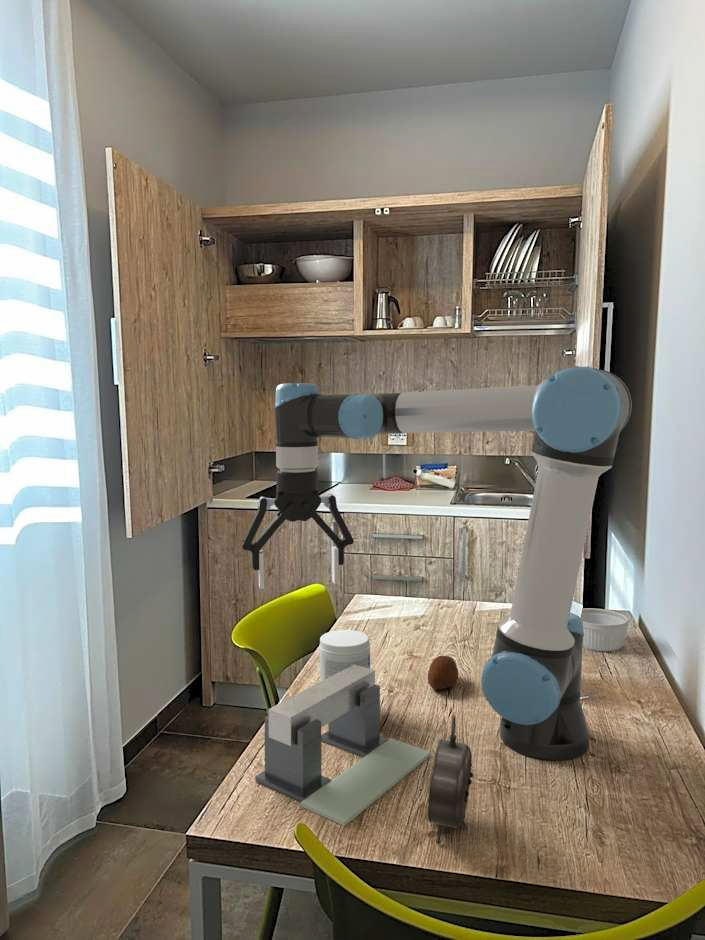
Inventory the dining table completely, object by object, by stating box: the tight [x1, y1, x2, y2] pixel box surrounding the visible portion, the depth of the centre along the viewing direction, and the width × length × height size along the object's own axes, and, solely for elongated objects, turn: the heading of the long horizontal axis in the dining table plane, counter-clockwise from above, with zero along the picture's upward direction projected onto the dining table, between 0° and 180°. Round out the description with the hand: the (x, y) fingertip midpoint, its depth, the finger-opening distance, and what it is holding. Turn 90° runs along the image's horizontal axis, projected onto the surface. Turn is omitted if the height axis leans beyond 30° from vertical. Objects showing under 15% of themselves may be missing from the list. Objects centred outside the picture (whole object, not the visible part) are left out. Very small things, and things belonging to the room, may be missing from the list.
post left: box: [254, 714, 332, 803], centre depth 109 cm, size 10×6×10 cm, turn 54°
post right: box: [321, 684, 389, 758], centre depth 122 cm, size 10×6×10 cm, turn 54°
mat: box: [300, 737, 431, 827], centre depth 111 cm, size 8×24×1 cm, turn 144°
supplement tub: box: [318, 629, 371, 682], centre depth 133 cm, size 10×10×15 cm
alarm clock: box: [427, 714, 474, 845], centre depth 98 cm, size 11×5×16 cm, turn 164°
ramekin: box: [581, 608, 629, 652], centre depth 170 cm, size 13×13×7 cm
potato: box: [427, 655, 459, 690], centre depth 146 cm, size 6×12×6 cm, turn 161°
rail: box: [268, 664, 376, 746], centre depth 115 cm, size 4×22×4 cm, turn 144°
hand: (298, 584), depth 129 cm, fingers open, 13 cm apart
